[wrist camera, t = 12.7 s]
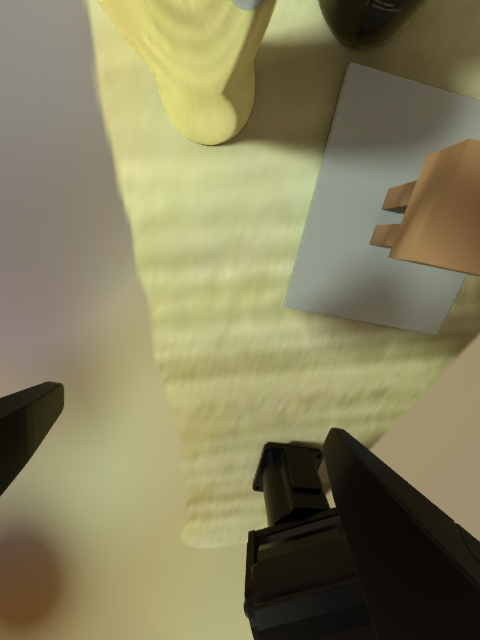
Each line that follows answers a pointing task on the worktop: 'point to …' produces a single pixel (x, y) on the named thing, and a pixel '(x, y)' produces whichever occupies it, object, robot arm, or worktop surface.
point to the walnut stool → (438, 212)
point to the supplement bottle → (369, 19)
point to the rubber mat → (377, 203)
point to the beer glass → (198, 58)
